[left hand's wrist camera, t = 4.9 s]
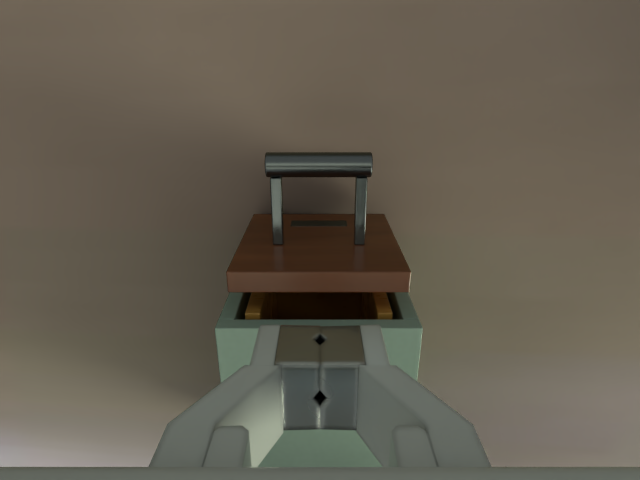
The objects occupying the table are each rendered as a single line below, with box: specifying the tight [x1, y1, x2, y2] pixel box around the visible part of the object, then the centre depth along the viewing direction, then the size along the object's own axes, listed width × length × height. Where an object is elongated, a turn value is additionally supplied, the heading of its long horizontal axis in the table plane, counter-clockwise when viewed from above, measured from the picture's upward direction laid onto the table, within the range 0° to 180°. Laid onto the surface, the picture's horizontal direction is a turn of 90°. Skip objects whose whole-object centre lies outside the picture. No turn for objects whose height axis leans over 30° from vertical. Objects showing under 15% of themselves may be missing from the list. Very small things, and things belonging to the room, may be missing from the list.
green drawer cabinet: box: [215, 292, 423, 467], centre depth 29 cm, size 17×10×11 cm, turn 0°
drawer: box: [226, 152, 411, 320], centre depth 27 cm, size 22×9×9 cm, turn 0°
